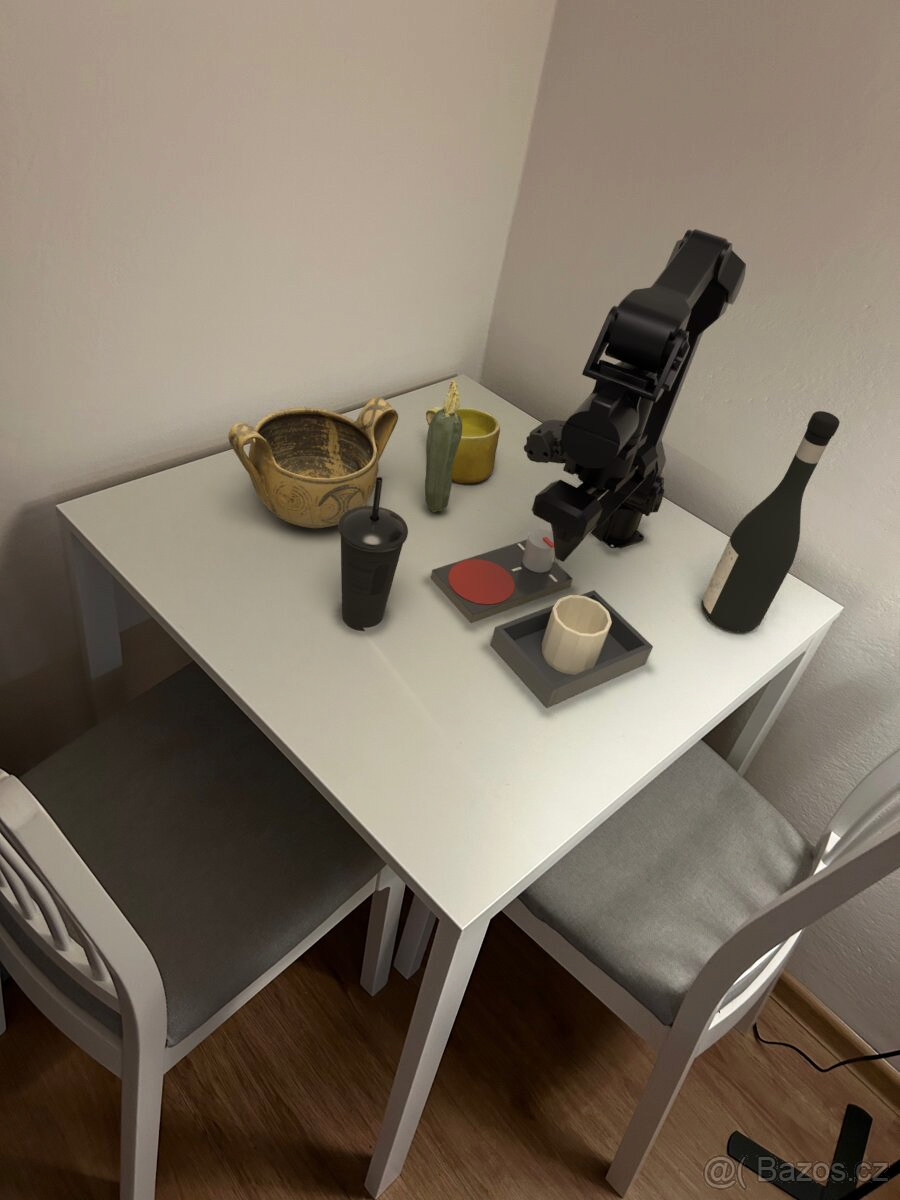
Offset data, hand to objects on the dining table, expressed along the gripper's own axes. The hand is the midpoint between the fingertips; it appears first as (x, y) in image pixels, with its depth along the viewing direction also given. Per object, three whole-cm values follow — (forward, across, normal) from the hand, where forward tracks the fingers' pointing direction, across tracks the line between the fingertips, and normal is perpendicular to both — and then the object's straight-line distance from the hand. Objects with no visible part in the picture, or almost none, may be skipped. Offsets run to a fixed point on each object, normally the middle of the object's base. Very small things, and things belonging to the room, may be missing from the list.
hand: (578, 541), depth 103 cm
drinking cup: (+13, +16, -18) cm, 27 cm away
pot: (+12, +4, +4) cm, 14 cm away
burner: (+11, +2, -10) cm, 15 cm away
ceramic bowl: (+13, +4, -36) cm, 39 cm away
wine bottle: (+13, -18, +17) cm, 28 cm away
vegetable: (+13, -7, -24) cm, 28 cm away
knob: (+11, -6, -7) cm, 14 cm away
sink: (+13, +4, +4) cm, 14 cm away
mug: (+13, -20, -29) cm, 37 cm away
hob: (+13, -1, -9) cm, 16 cm away
